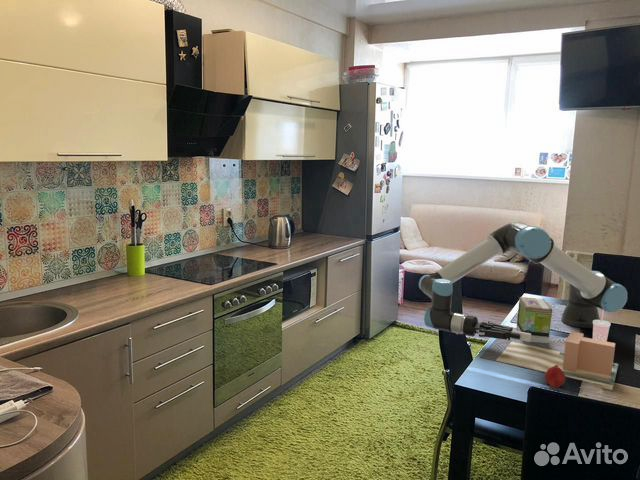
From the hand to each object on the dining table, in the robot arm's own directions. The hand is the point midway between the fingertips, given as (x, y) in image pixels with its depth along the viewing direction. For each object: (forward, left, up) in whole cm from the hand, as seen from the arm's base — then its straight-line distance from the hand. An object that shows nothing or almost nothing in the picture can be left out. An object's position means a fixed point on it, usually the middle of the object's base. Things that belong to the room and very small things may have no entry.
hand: (530, 337), depth 189 cm
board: (-6, +7, -8) cm, 12 cm away
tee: (-12, +15, -7) cm, 20 cm away
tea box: (-17, -17, -8) cm, 25 cm away
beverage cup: (-37, -3, -8) cm, 38 cm away
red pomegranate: (+9, +21, -8) cm, 25 cm away
